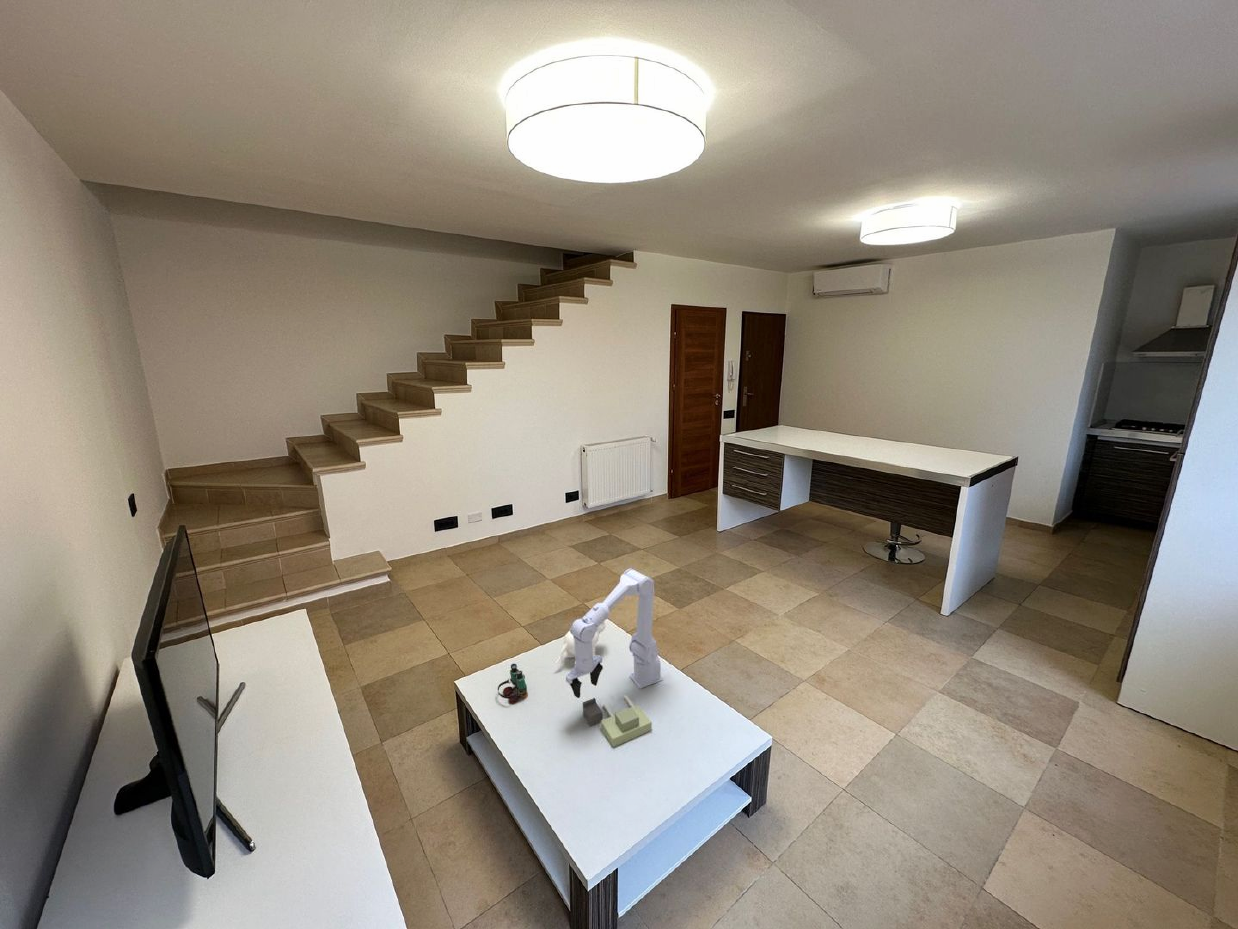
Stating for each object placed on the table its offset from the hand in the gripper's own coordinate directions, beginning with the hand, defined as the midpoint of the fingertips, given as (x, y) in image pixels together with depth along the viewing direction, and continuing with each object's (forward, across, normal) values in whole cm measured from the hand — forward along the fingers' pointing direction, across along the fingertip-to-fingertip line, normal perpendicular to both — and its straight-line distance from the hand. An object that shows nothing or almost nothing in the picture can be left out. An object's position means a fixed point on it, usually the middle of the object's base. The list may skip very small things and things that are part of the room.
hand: (585, 690), depth 162 cm
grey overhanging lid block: (+10, 0, +3) cm, 10 cm away
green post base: (+10, -5, +10) cm, 15 cm away
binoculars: (+10, +12, -26) cm, 30 cm away
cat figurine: (+10, -19, -22) cm, 31 cm away
